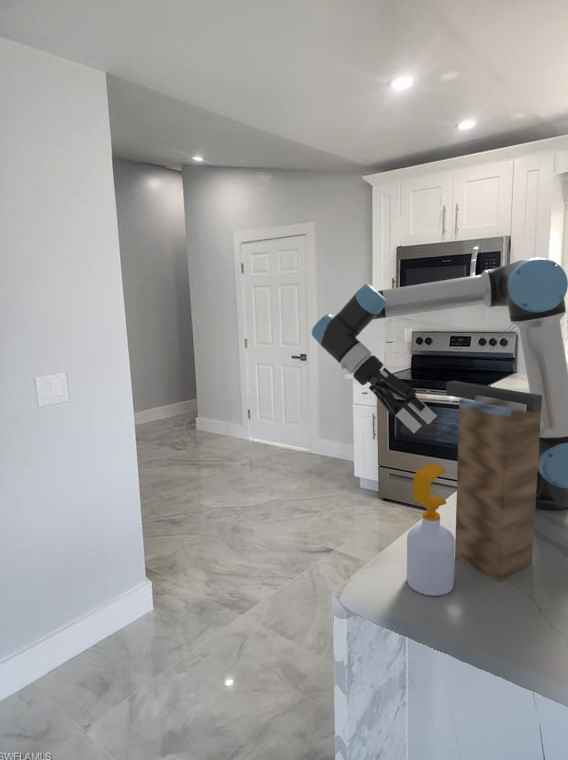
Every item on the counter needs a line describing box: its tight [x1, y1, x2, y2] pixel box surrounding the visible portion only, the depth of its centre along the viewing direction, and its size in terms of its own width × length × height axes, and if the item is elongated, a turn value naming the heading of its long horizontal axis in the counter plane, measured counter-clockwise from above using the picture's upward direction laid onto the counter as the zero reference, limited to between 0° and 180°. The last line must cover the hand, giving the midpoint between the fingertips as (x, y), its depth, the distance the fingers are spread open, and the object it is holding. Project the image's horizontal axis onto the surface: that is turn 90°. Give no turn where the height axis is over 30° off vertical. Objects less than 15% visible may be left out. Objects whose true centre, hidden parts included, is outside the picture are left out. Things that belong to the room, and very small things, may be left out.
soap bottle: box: [406, 463, 455, 597], centre depth 99 cm, size 9×9×25 cm
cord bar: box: [445, 380, 542, 412], centre depth 106 cm, size 21×3×3 cm, turn 32°
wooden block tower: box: [454, 395, 541, 582], centre depth 105 cm, size 11×11×36 cm
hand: (425, 425), depth 123 cm, fingers open, 13 cm apart
